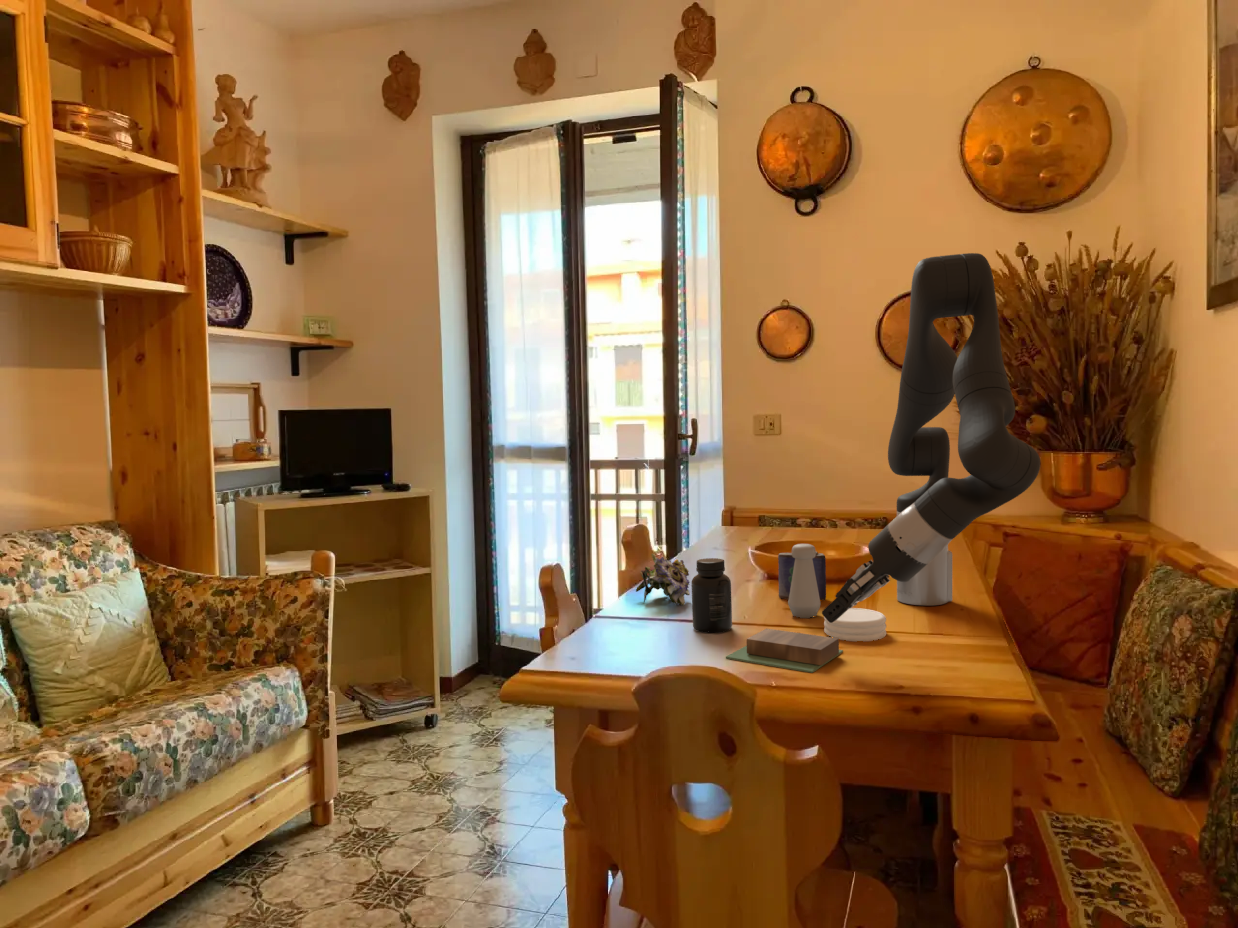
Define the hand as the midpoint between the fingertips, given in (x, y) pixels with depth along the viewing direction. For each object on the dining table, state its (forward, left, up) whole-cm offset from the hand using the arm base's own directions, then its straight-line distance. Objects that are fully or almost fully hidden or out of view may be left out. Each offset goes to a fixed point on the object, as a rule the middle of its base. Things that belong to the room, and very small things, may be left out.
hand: (827, 617), depth 129 cm
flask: (-19, -38, -7) cm, 43 cm away
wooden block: (0, 0, -5) cm, 5 cm away
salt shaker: (-12, -26, -7) cm, 29 cm away
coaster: (-13, -12, -7) cm, 19 cm away
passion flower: (+7, -46, -7) cm, 48 cm away
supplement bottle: (+7, -25, -7) cm, 27 cm away
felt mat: (+4, -6, -7) cm, 10 cm away
